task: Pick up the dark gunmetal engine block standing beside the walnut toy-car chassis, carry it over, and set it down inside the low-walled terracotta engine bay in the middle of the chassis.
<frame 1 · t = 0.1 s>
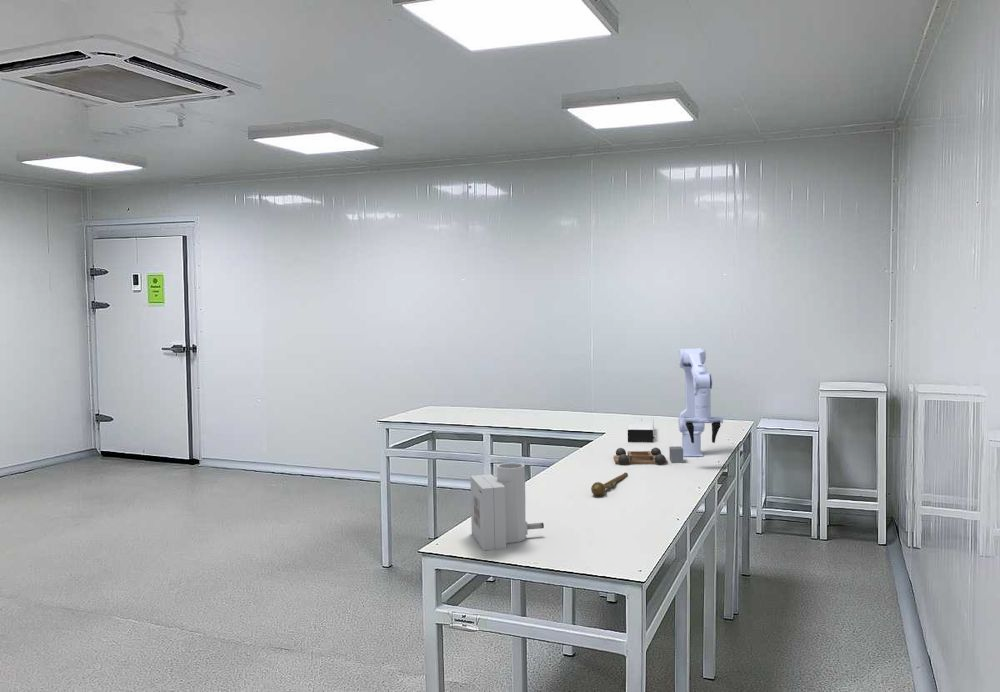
hand: (702, 442, 305), 10 cm above the table, fingers open, 7 cm apart
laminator: (642, 437, 381), on the table
engine block: (676, 461, 321), on the table
box with tube attached: (510, 539, 222), on the table
chassis: (640, 461, 323), on the table
ball-headed bronze rod: (611, 487, 281), on the table
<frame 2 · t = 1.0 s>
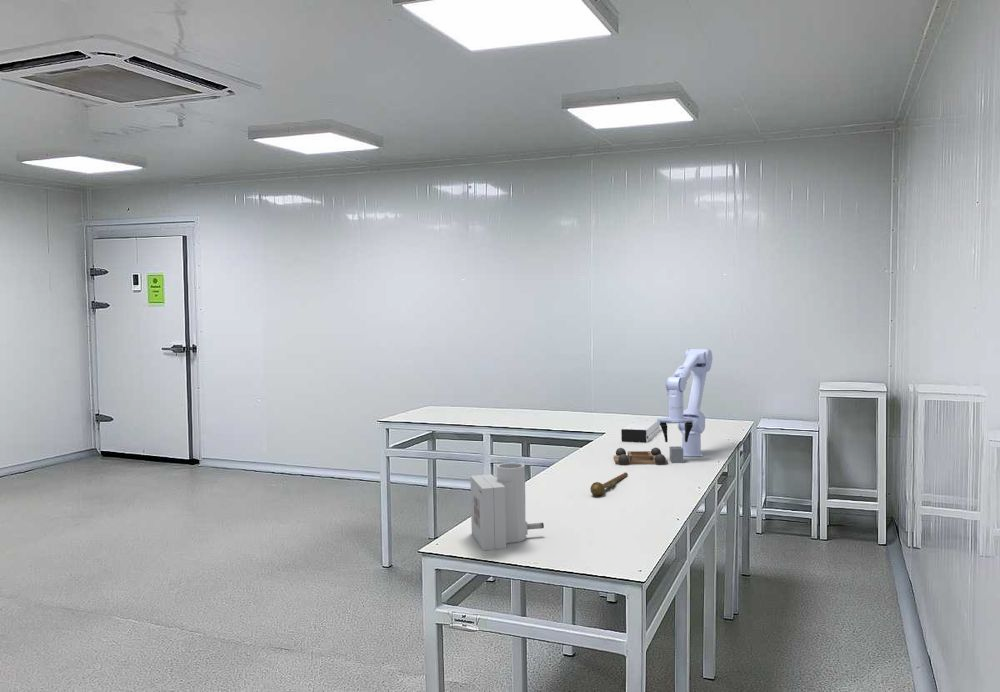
hand: (676, 441, 320), 8 cm above the table, fingers open, 7 cm apart
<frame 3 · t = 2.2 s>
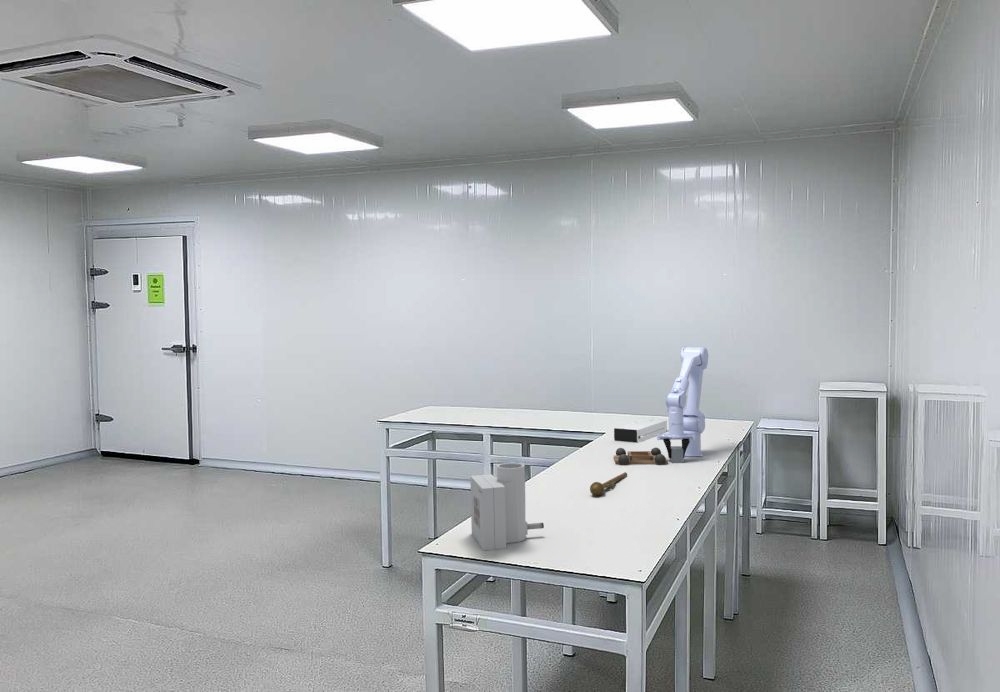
hand: (676, 457, 321), 1 cm above the table, fingers closed on engine block, 4 cm apart
engine block: (676, 461, 321), on the table, touching gripper
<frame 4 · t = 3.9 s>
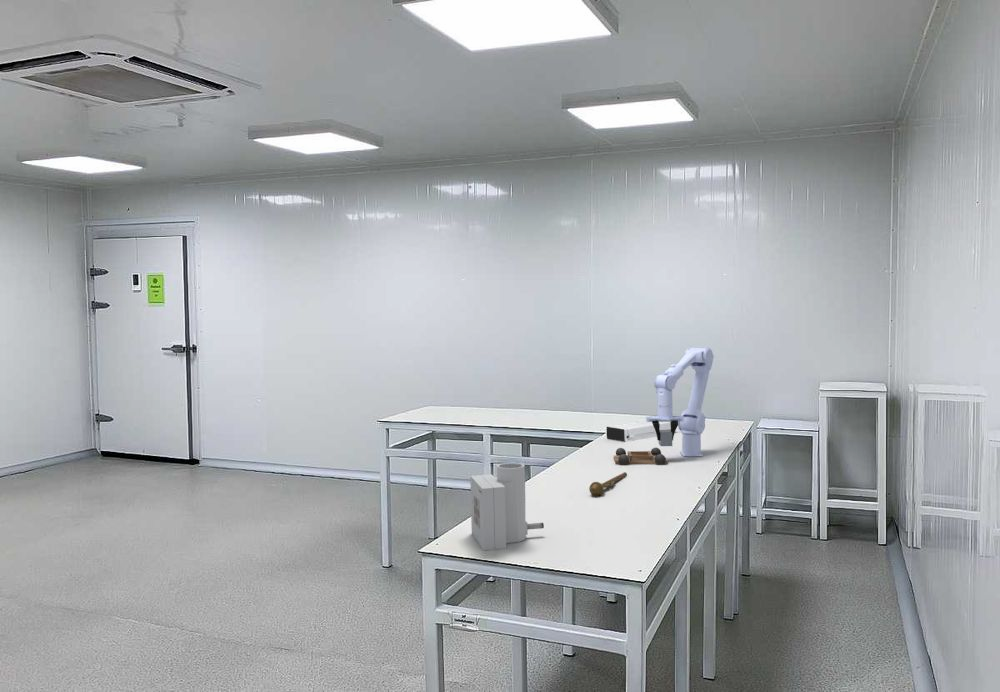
hand: (665, 440, 321), 8 cm above the table, fingers closed on engine block, 4 cm apart
engine block: (665, 444, 321), point 7 cm above the table, touching gripper
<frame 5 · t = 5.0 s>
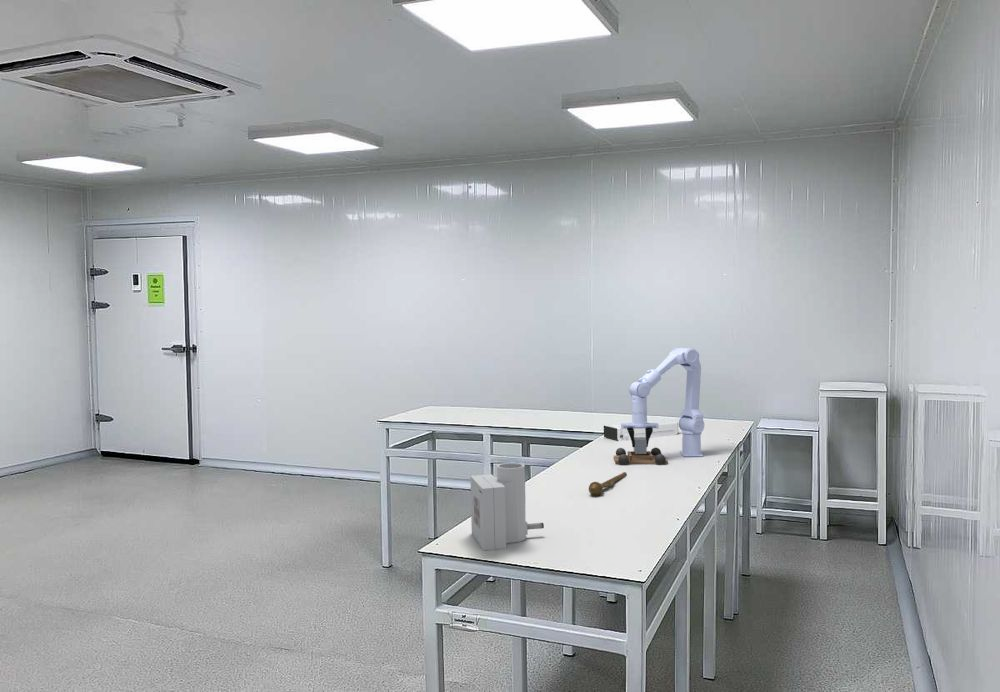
hand: (639, 446, 322), 6 cm above the table, fingers closed on engine block, 4 cm apart
engine block: (640, 452, 322), point 4 cm above the table, touching gripper
when the fingers open (4 cm above the table, at t = 5.8 s): engine block stays where it is, resting on chassis.
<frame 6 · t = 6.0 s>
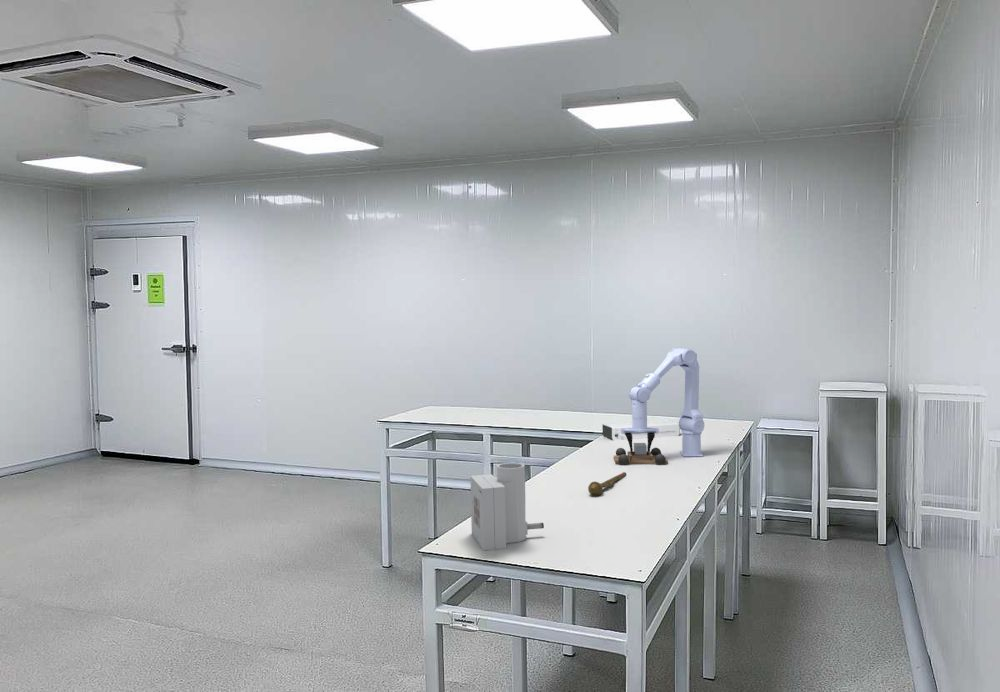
hand: (640, 451, 322), 4 cm above the table, fingers open, 6 cm apart
engine block: (640, 458, 322), point 1 cm above the table, touching chassis
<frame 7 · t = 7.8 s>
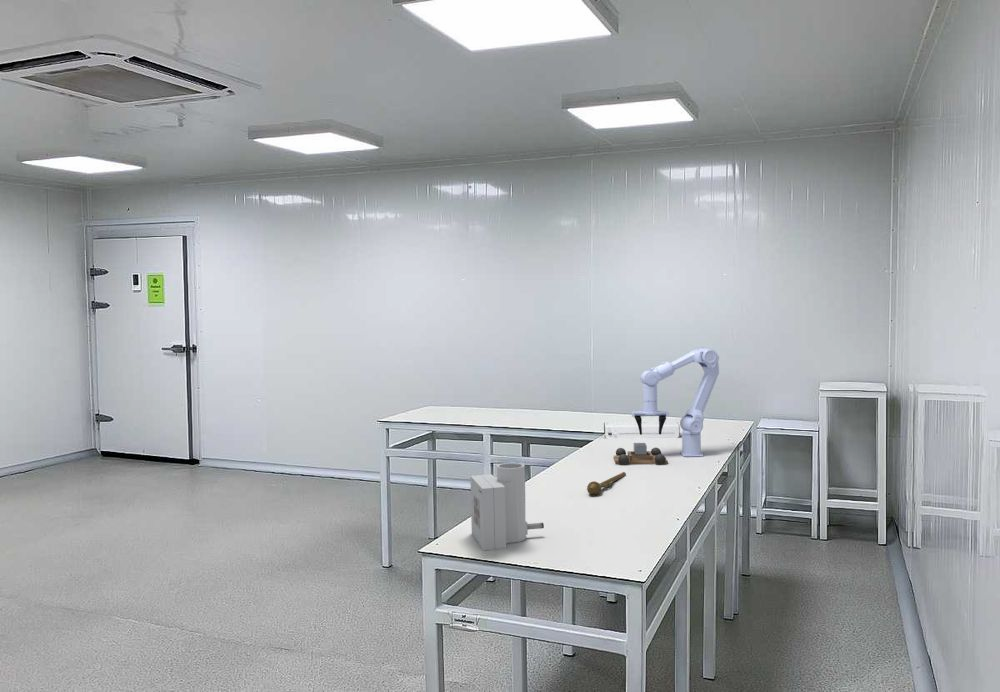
hand: (650, 434, 330), 9 cm above the table, fingers open, 7 cm apart
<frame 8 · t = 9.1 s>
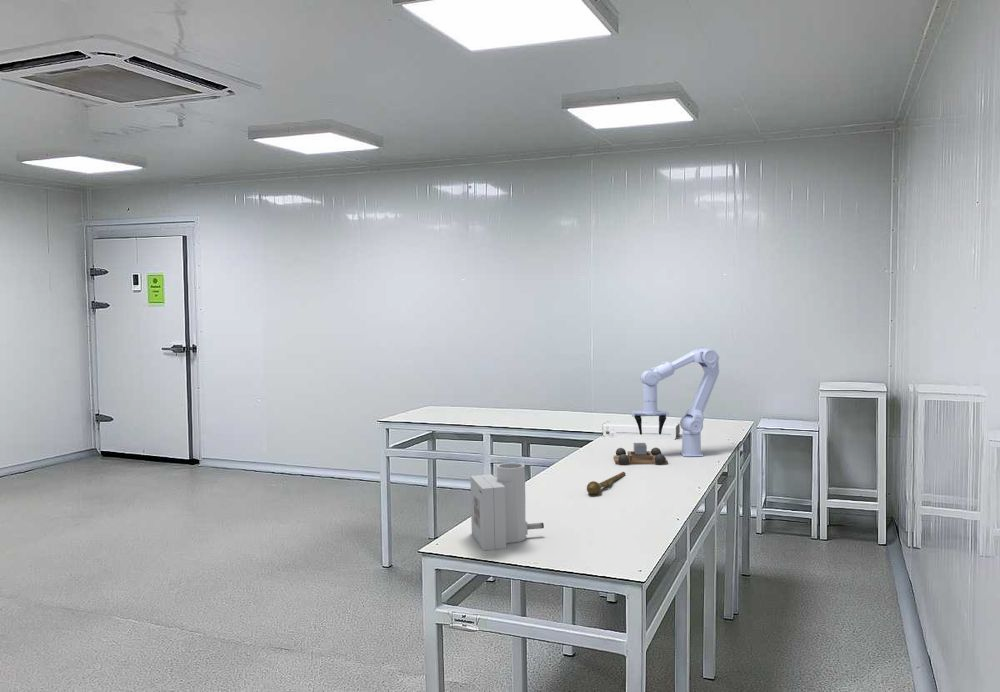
hand: (650, 434, 330), 9 cm above the table, fingers open, 7 cm apart
at the end: engine block 0.2 cm off-centre on the chassis, point 1.3 cm above the chassis's base; engine block tilted 0°; the gripper is holding nothing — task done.
